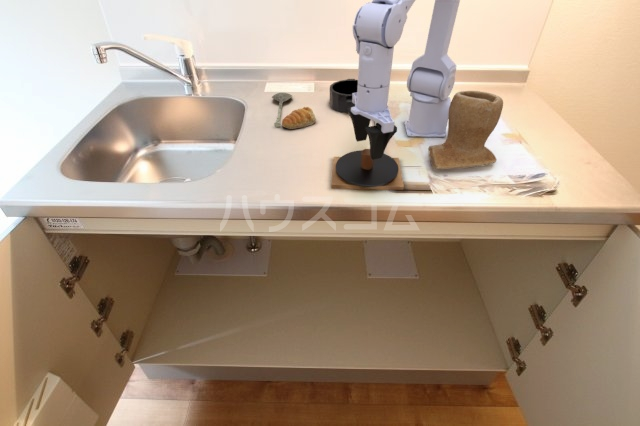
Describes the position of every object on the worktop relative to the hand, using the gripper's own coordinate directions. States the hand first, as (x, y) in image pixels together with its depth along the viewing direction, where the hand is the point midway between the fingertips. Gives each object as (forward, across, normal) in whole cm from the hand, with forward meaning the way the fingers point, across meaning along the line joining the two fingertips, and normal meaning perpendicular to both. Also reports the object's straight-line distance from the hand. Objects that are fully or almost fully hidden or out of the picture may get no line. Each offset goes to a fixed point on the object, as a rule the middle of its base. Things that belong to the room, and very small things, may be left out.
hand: (368, 148), depth 66 cm
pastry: (+7, -29, -7) cm, 31 cm away
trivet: (+6, 0, 0) cm, 6 cm away
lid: (+5, 0, 0) cm, 5 cm away
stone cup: (+7, +2, +22) cm, 23 cm away
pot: (+6, -36, +11) cm, 38 cm away
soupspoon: (+7, -40, -11) cm, 41 cm away
